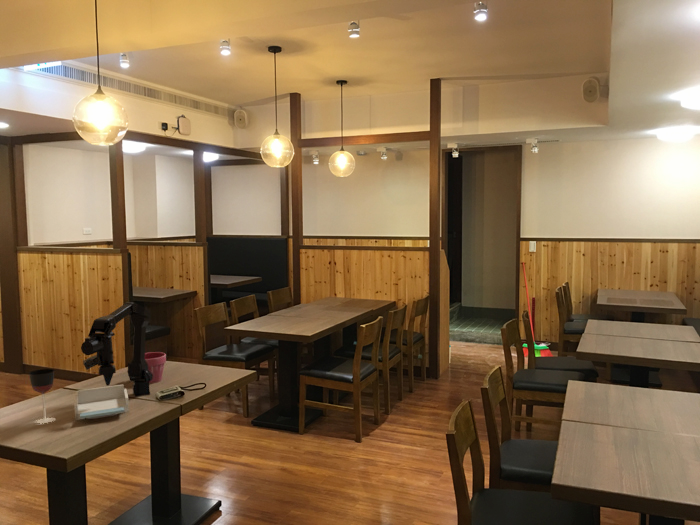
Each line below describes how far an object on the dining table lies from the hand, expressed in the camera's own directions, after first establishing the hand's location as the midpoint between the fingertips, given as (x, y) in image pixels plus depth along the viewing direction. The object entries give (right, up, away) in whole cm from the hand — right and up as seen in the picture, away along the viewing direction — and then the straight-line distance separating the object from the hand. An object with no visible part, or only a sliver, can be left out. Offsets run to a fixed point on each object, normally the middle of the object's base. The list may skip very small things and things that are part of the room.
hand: (107, 385), depth 233 cm
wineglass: (-21, -12, -9) cm, 26 cm away
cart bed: (-3, -11, +1) cm, 11 cm away
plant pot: (+3, -7, +42) cm, 43 cm away
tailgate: (0, -9, -5) cm, 10 cm away
